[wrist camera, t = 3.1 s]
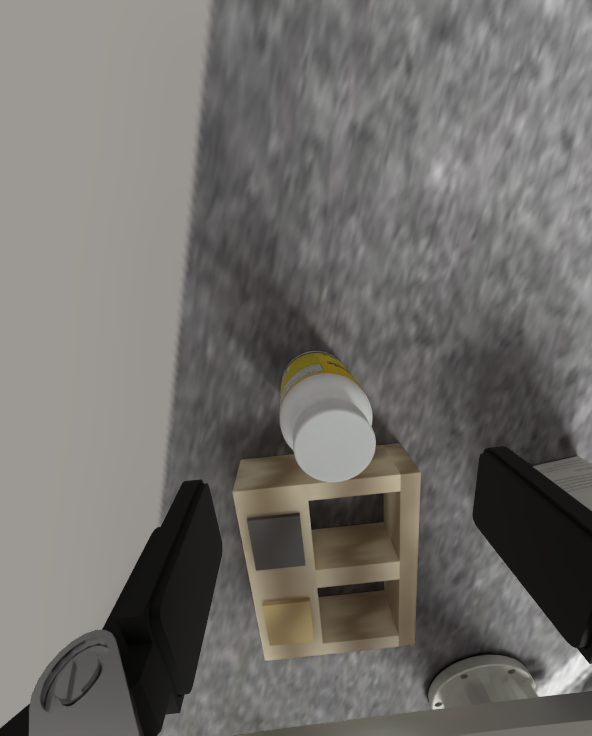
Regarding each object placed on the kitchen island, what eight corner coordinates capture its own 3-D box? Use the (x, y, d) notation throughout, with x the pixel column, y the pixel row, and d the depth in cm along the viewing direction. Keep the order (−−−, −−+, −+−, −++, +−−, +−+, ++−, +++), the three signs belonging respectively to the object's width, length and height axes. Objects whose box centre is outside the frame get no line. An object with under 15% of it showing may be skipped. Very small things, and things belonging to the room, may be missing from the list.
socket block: (399, 443, 25) (422, 474, 20) (398, 598, 30) (416, 648, 26) (240, 459, 24) (231, 495, 20) (268, 612, 30) (265, 665, 26)
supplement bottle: (359, 392, 23) (408, 466, 14) (301, 422, 24) (311, 513, 14) (328, 336, 22) (360, 375, 12) (268, 369, 22) (255, 431, 13)
